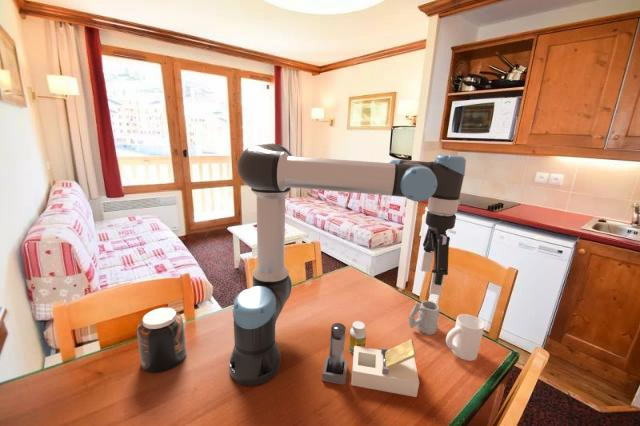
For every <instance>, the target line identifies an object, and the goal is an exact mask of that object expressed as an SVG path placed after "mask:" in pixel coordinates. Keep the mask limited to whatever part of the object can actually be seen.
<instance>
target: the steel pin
mask: <svg viewBox="0 0 640 426" xmlns="http://www.w3.org/2000/svg"><path fill="white" fill-rule="evenodd" d="M346 330H347V329H346V326H345V325H344V324H343V323H340V322H337V323H332V325H331V329H330V341H329V342H330V344H329V356H328V357H329V366H328V367H327V372H329V373H335V374H340V375H343V368H342V364H343V360H344V351H345V339H346Z"/></svg>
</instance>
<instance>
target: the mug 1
mask: <svg viewBox="0 0 640 426" xmlns="http://www.w3.org/2000/svg"><path fill="white" fill-rule="evenodd" d="M417 314H418V316H417V319H415V317H416V315H417ZM439 317H440V306H439V305H438V304H437V303H436V302H434V301H431V300H423V301H421V303H420V304H419V302H418V301H415V302H414V306H413V308H412V310H411V312H410V314H409V315H408V324H409V326H410V328H411V329H414V328H415V327H416V329H417V330H418V331H420V333H422V334H423V333H424V334H425V335H430V336H431V335H434V334H436V332H437V331H438V328H439V326H438V322H439V321H438V320H439Z"/></svg>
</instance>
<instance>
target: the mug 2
mask: <svg viewBox="0 0 640 426" xmlns="http://www.w3.org/2000/svg"><path fill="white" fill-rule="evenodd" d="M484 329H485V324H484V321H483V320H482V319H480V318H478V317H476V316H475V315H471V314H467V313H460V314H459V315H458V316H456V321H455V326H454V327H453V328H451V329H450V330H449V331H448V333H446V334H447V335H446V338H445V344H446V346H447V347H448V349H450V350H451V351H452V353H453V354H454V355H455V356H456V357H458V358H459V359H461V360H464V361H467V362H468V361H469V362H470V361H472V362H473V361H475V360H476V359H477V358H478V355H479V350H480V347H481V342H482V337H483V334H484Z"/></svg>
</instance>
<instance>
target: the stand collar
mask: <svg viewBox="0 0 640 426" xmlns="http://www.w3.org/2000/svg"><path fill="white" fill-rule="evenodd" d="M328 368H329V356H325V360H324V365H323V371H322V375H321V376H322V378H321V379H322V380H321V381H322V382H327V383H333V384H338V385H343V386H345V385H346V381H347V379H346V378H347V371H348V369H347V368H348V360H347V359H343V364H342V369H343V371H342V375H340V374H335V373H329V372H328Z"/></svg>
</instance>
